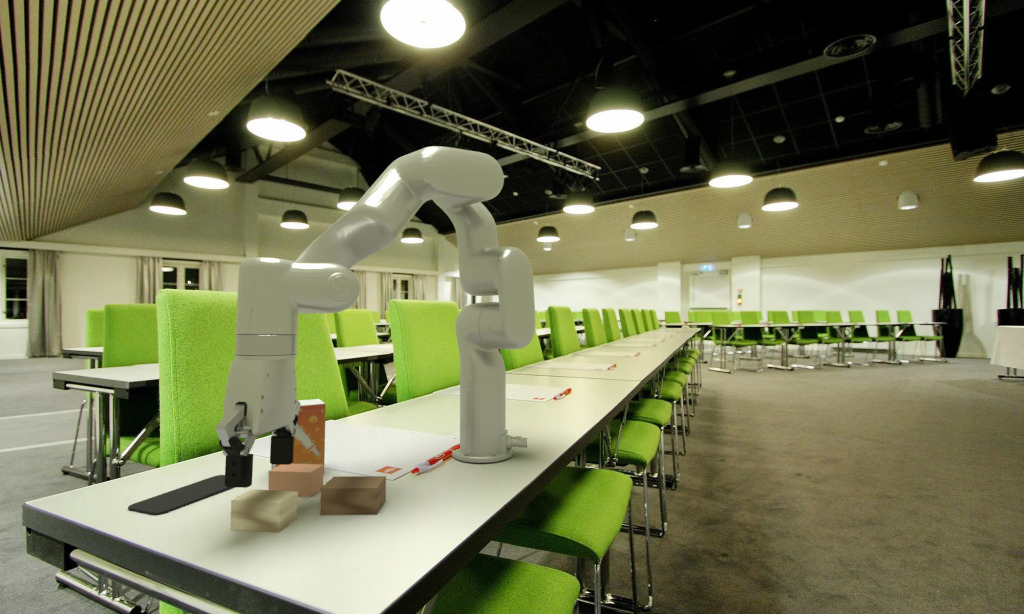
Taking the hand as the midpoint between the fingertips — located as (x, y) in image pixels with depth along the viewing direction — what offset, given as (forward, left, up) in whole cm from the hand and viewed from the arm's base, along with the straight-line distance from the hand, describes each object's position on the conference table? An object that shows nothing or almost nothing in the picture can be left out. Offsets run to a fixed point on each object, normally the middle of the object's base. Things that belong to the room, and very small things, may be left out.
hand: (261, 474), depth 62 cm
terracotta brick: (+2, -12, -7) cm, 14 cm away
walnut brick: (-10, -6, -7) cm, 14 cm away
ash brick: (0, 0, -7) cm, 7 cm away
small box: (+6, -20, -7) cm, 22 cm away
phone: (+18, -10, -7) cm, 22 cm away
